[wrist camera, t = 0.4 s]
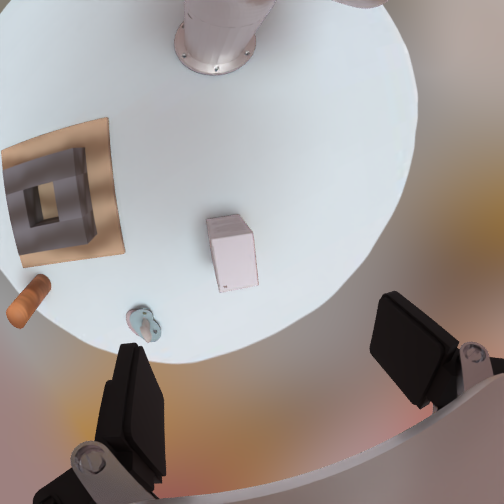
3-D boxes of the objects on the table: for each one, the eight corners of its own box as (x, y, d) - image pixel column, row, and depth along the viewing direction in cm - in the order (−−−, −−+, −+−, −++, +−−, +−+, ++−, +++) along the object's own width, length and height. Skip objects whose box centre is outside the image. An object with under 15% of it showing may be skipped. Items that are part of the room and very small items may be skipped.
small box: (244, 258, 48) (259, 287, 38) (212, 263, 47) (219, 294, 37) (239, 212, 45) (254, 231, 35) (205, 218, 44) (210, 239, 34)
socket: (4, 150, 30) (-15, 152, 25) (108, 117, 34) (96, 113, 29) (25, 265, 39) (10, 279, 33) (125, 251, 43) (117, 266, 37)
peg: (32, 275, 40) (2, 307, 29) (47, 273, 40) (18, 306, 29) (38, 293, 41) (12, 328, 30) (53, 292, 42) (28, 328, 31)
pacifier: (138, 338, 49) (165, 331, 50) (134, 360, 44) (162, 352, 44) (120, 309, 46) (147, 300, 47) (113, 330, 41) (142, 320, 41)
